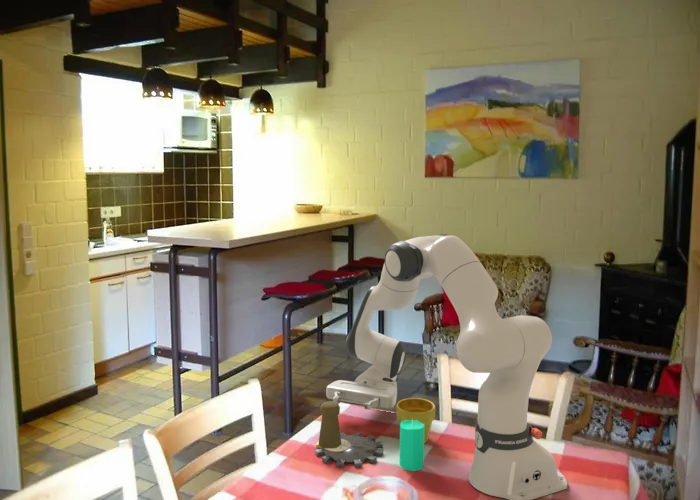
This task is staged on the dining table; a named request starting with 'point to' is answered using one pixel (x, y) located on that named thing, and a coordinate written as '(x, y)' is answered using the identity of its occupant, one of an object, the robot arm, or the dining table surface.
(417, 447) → the candle
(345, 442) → the sprocket plate
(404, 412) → the plant pot
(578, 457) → the dining table surface
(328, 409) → the cork
